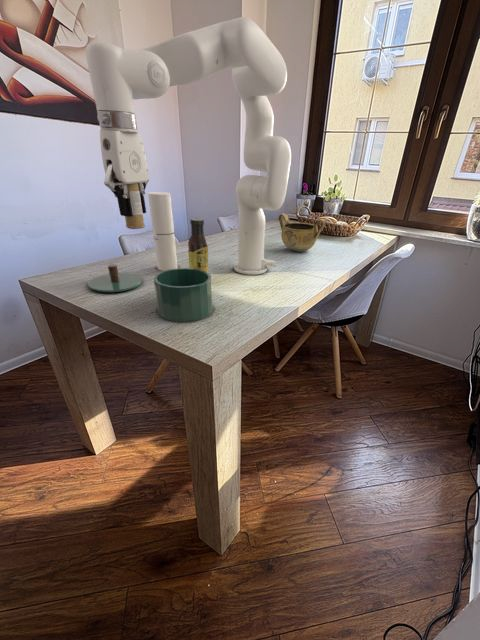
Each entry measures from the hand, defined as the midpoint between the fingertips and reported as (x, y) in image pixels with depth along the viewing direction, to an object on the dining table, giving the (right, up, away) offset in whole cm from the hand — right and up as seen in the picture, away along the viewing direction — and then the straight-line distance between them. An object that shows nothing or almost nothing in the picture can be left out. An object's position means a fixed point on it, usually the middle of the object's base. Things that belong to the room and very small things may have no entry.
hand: (133, 213), depth 77 cm
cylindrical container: (-3, -3, +39) cm, 39 cm away
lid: (-15, -12, +22) cm, 29 cm away
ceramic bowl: (+49, +13, +69) cm, 86 cm away
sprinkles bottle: (0, -3, +2) cm, 4 cm away
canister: (+11, -23, +10) cm, 27 cm away
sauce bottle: (+11, -11, +28) cm, 32 cm away
